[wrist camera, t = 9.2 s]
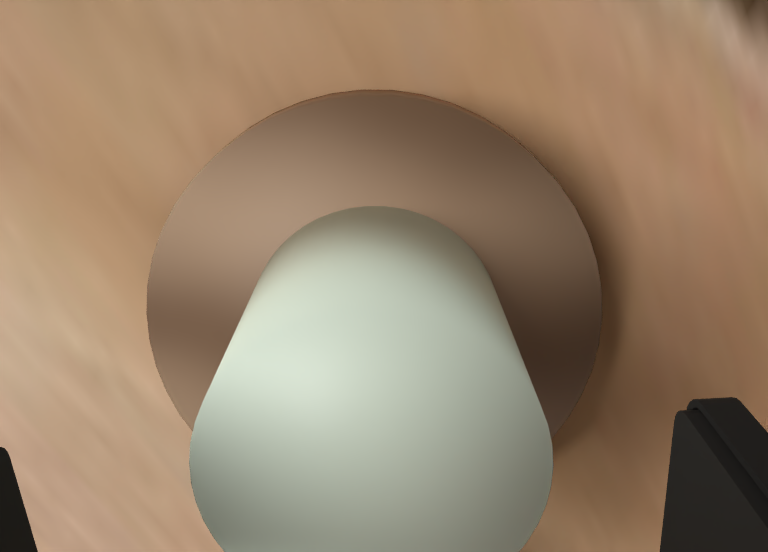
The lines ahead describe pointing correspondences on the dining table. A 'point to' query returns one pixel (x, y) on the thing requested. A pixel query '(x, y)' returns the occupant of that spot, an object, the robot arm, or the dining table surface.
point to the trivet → (375, 188)
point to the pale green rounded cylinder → (372, 401)
